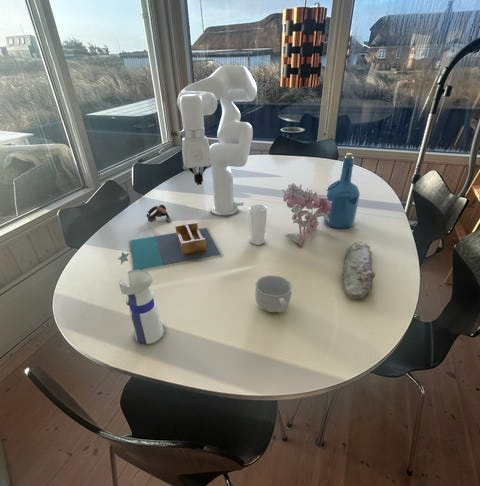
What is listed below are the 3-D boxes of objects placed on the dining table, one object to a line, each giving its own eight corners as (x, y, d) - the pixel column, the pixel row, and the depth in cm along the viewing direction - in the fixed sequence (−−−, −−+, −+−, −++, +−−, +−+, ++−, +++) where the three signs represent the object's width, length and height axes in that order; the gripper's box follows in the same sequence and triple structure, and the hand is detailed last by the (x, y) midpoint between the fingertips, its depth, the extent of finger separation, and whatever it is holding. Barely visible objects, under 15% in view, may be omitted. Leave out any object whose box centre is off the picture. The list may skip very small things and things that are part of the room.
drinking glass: (267, 239, 133) (268, 205, 125) (263, 247, 128) (264, 212, 119) (252, 237, 135) (252, 203, 126) (247, 245, 130) (246, 210, 121)
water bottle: (126, 341, 88) (102, 264, 74) (145, 320, 94) (125, 246, 80) (152, 348, 85) (132, 271, 71) (169, 327, 92) (154, 252, 78)
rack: (197, 233, 137) (196, 221, 134) (206, 251, 125) (205, 239, 122) (176, 237, 135) (175, 225, 132) (183, 255, 123) (181, 243, 120)
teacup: (253, 295, 103) (253, 275, 98) (286, 293, 103) (288, 272, 99) (259, 326, 91) (259, 304, 87) (296, 323, 92) (299, 301, 88)
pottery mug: (169, 226, 146) (158, 213, 141) (154, 233, 150) (141, 221, 144) (175, 209, 154) (163, 197, 148) (159, 216, 157) (148, 204, 152)
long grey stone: (372, 252, 125) (346, 249, 128) (374, 239, 123) (347, 237, 126) (373, 304, 97) (339, 299, 100) (376, 289, 95) (340, 284, 98)
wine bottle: (355, 219, 147) (369, 151, 130) (351, 231, 137) (365, 159, 120) (325, 214, 152) (335, 148, 135) (319, 226, 142) (328, 156, 125)
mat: (206, 229, 142) (206, 227, 142) (220, 255, 123) (220, 254, 123) (131, 241, 134) (130, 240, 134) (134, 272, 115) (134, 270, 115)
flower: (346, 244, 125) (345, 178, 121) (293, 249, 119) (291, 179, 115) (319, 242, 144) (317, 185, 140) (272, 246, 138) (269, 186, 134)
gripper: (174, 137, 111) (181, 189, 121) (217, 133, 114) (220, 184, 125) (171, 133, 117) (178, 183, 127) (211, 130, 120) (215, 178, 131)
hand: (199, 183), depth 126 cm, fingers closed
